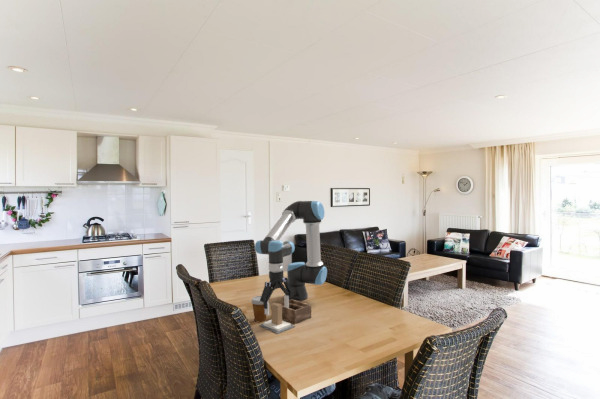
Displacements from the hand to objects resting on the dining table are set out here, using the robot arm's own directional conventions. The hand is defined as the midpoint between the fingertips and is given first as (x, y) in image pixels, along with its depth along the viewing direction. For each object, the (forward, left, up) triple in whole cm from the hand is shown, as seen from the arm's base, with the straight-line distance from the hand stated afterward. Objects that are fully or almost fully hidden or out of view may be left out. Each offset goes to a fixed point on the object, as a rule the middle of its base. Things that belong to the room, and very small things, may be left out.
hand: (277, 310), depth 174 cm
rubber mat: (0, 0, -8) cm, 8 cm away
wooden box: (-15, -3, -8) cm, 17 cm away
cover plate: (0, 0, -8) cm, 8 cm away
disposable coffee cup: (+1, -13, -8) cm, 16 cm away
